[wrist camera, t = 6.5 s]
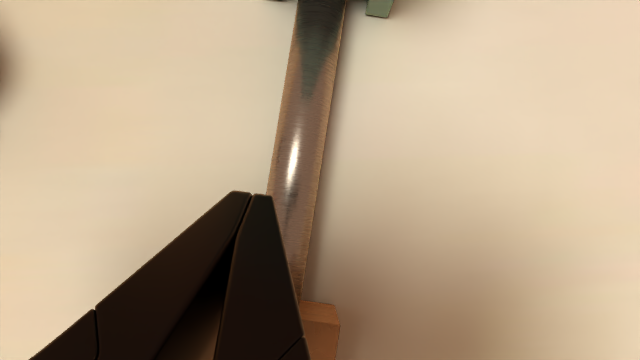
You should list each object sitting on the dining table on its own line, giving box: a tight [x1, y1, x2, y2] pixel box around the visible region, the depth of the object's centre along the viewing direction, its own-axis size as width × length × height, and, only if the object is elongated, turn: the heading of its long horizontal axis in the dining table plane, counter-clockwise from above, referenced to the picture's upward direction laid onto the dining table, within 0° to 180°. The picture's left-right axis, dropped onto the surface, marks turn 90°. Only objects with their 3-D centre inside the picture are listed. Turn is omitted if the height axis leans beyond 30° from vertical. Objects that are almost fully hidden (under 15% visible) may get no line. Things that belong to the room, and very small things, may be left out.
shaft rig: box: [266, 0, 347, 360], centre depth 19 cm, size 34×6×4 cm, turn 171°
